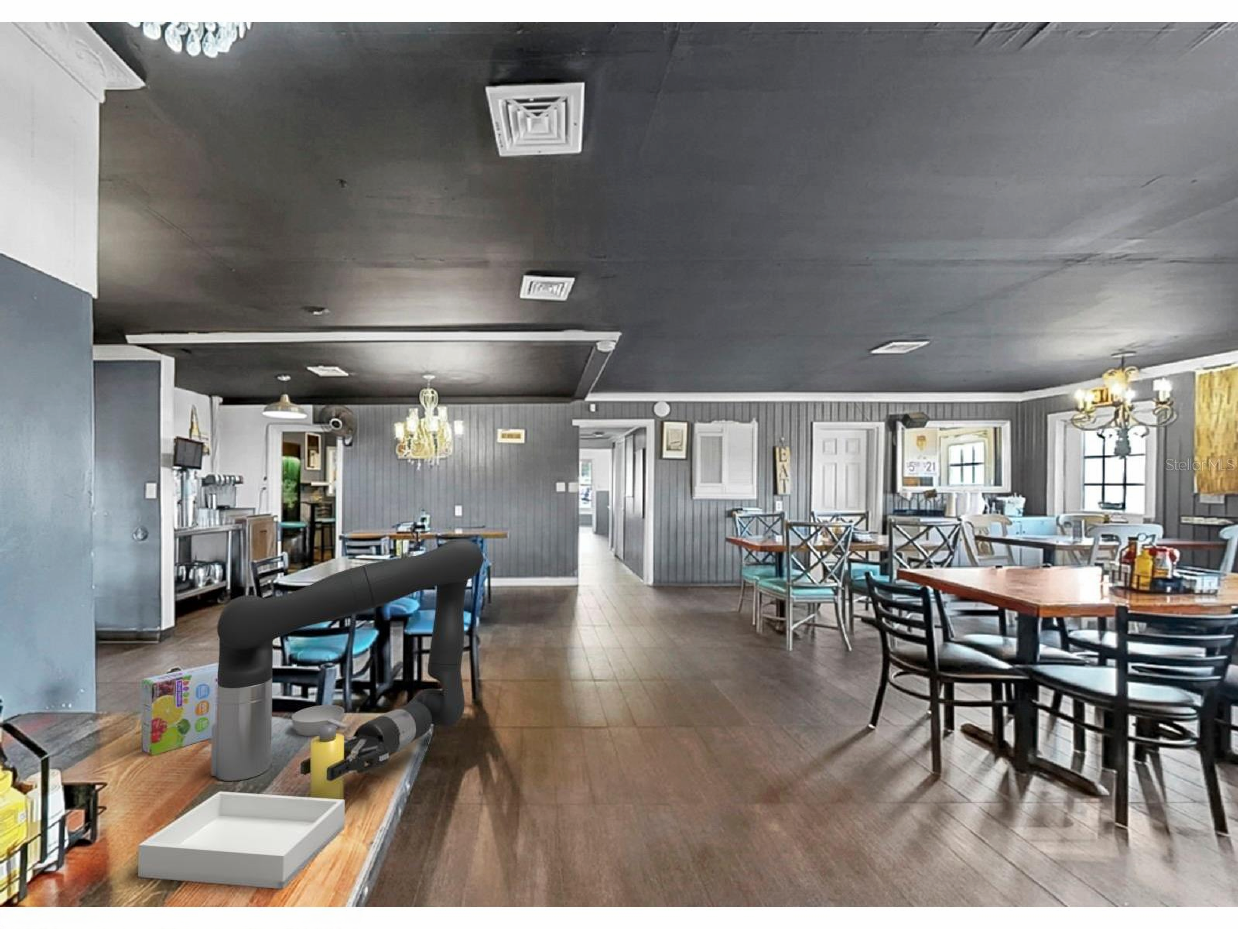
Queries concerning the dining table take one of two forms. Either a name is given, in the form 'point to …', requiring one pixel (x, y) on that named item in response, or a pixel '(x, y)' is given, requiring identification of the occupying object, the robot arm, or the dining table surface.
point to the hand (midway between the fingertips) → (315, 771)
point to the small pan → (317, 719)
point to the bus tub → (243, 840)
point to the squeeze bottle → (326, 763)
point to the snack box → (179, 708)
